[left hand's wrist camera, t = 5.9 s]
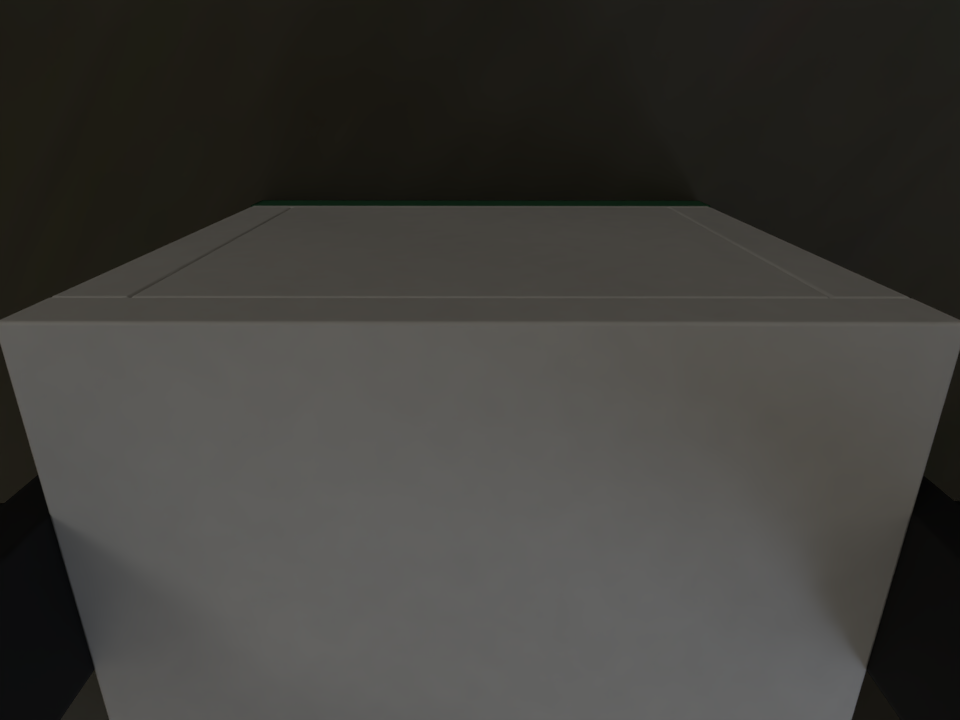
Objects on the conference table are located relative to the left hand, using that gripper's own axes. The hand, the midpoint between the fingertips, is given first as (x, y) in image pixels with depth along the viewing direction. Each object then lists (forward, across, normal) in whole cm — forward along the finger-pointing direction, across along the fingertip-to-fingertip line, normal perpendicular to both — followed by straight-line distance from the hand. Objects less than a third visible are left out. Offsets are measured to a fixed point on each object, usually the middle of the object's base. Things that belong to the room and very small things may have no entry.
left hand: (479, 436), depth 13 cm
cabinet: (+5, 0, -5) cm, 8 cm away
